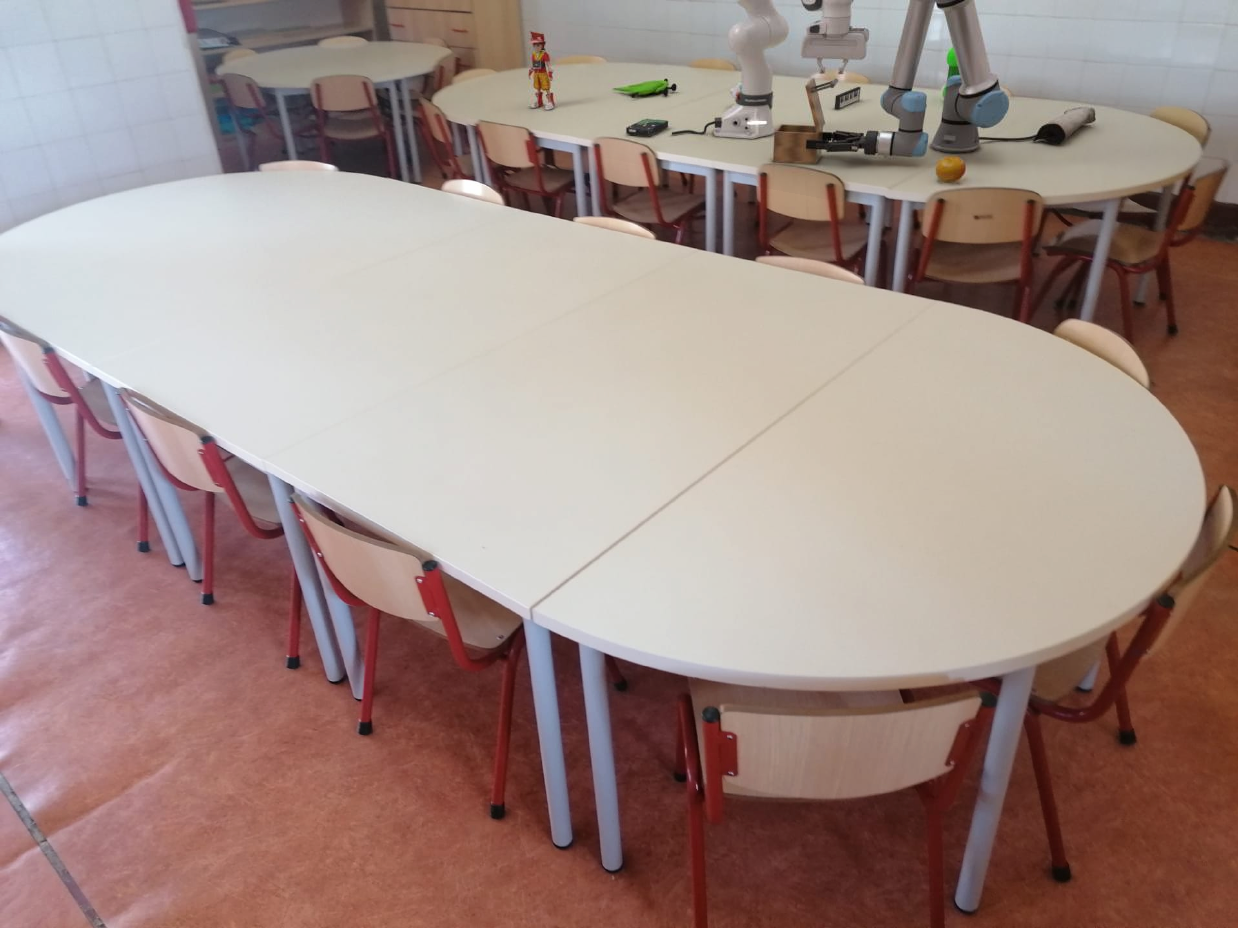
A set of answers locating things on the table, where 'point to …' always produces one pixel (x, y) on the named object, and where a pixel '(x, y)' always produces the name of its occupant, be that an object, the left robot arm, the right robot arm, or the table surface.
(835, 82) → the lid
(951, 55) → the plastic bottle
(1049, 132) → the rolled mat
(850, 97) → the midi keyboard
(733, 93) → the anatomical model
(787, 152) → the chest
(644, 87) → the toy
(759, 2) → the left robot arm
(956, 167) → the fruit
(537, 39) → the toy
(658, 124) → the disk drive
